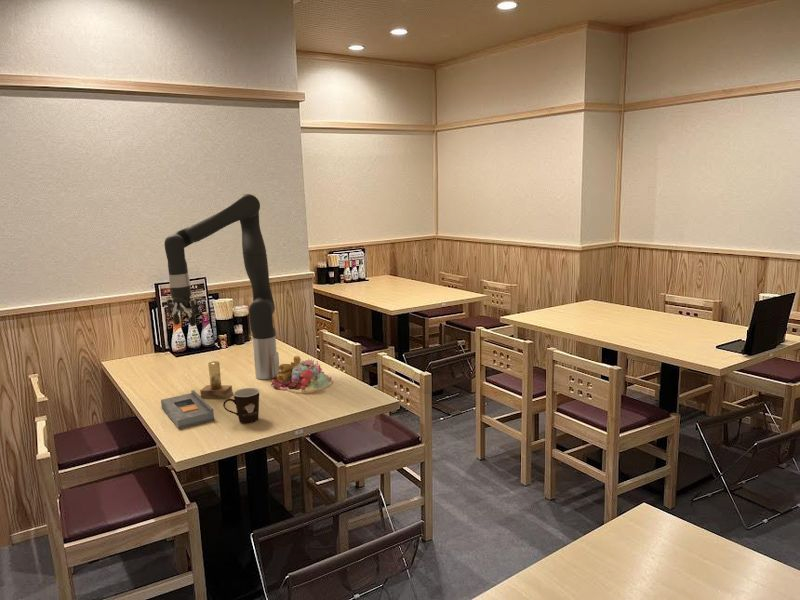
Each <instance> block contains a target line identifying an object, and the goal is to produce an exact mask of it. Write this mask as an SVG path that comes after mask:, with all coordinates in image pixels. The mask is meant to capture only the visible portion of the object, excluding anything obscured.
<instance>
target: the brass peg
mask: <svg viewBox="0 0 800 600" xmlns="http://www.w3.org/2000/svg"><path fill="white" fill-rule="evenodd" d="M208 372H209V373H208V374H209V385H210V386H211V389H212V390H217V389H220V388H222V386H221V385H222V378H221V376H222V375H221V367H220V361H218V360H216V361H210V362H208Z"/></svg>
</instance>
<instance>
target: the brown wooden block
mask: <svg viewBox="0 0 800 600" xmlns="http://www.w3.org/2000/svg"><path fill="white" fill-rule="evenodd" d="M221 386H222V388H220V389H217V390H212V389H211V386H210V384H206V385H205V386H204V387H203V388H202V389H200V396H201V397H202V398H203V399H227V398H228V397H229V396H230V395H232V394H233V387H232V386H233V385H231V384H230V385H226V384H221Z"/></svg>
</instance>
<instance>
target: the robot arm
mask: <svg viewBox="0 0 800 600" xmlns="http://www.w3.org/2000/svg"><path fill="white" fill-rule="evenodd" d="M260 209H261V203H260V200H259V199H258V198H257V197H256V196H255V195H254V194H250V193H245V194H244V193H243V194H242V195H240V196H238V198H237V199H236V201H235V200H234V202H233V203H231V204H230V205H228V206H227V207H225V208H223V209H221V210H220V211H217V212H214V213H212V214H210V215H207V216H205V217H203V218H201V219H199V220H196V221H195V222H193V223H192V224H190V225H188V226H186V227H184V228H182V229H180V230H178V231H175V232H173V233H171V234H169V235H168V236H167V237H166V238H165V240H164V250H165V251H164V252H165V256H166V259H167V268H168V269H167V270H168V281H169V282H168V283H169V291H170V297H171V298H168V299H166V302H167V313H168V315H171V316H172V320H173V324H174V325H175V326H178V325H180V324H181V320H180V315H179V313H180V312H182V311H183V312H185V313H186V314H187V315H188V316H189V319H188V320H189V325H190V327H194V326H196V325H197V318H196V316H198V315H200V310H199V303H198V300H197V299H194V300H193V299H191V297H192V289H191V281H190V275H189V272H188V270H189V269H188V262H187V260H186V254H185V248H187V247H189V246H190V245H192V244H195V243H198V242H201V241H202V240H204V239H206V238H208V237H210V236H212V235H214V234H215V233H217V232H219V231H221V230H223V229H224V228H226V227H227V226H230V225H232V224H234V223H236V222H239V223H240V227H241V248H242V257H243V258H242V259H243V264H244V269H245V273H246V275H247V277H248V279H249V281H250V284H251V288H252V289H251V290H252V301H253V302H252V303H251V304H250V306H249V309H248V317H249V327H250V332H251V334H252V346H253V347H252V348H253V356H254V357H253V358H254V359H253V360H254V369H255V371H254V372H255V378H256V379H259V380H271V379H272V380H273V378H274V377H275V376H277V374H278V372H280V370H279V369H278V367H279V366H280V358H279V352H278V351H277V340H276V330H275V328H274V324H273V323H274V322H273V314H274V312H275V310H276V309H275V308H276V307H275V302H274V298H273V294H272V291H271V286H270V285H271V284H270V276H269V275H270V274H269V272H270V271H269V265H268V263H269V262H268V255H267V249H266V244H265V241H264V238H263V234H262V231H261V226H260V224H261V223H260V211H261V210H260Z"/></svg>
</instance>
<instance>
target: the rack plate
mask: <svg viewBox="0 0 800 600" xmlns="http://www.w3.org/2000/svg"><path fill="white" fill-rule="evenodd" d="M190 392H191V393H185V394H182V395H181V394H180V395H176V396H172V397H167V398H164V399H160V404H161V405H160V406H161V408H162V410H163V411H164V413H166V415H167V416H168V418H169V419H170V420H171V421H172V423H173V424H175V427H176V428H177V429H178V430H180V429H183V428H184V429H185V428H187V427H191V426H195V425H199V424H205V423H209V422H212V421H215V413H214V408H213V407H212V406H211V405H210V404H209V403H208V402H207V401H206V400H205V398H202V397H201V395H200V394H199V393H197V392H196V391H195V390H194V389H193V390H191V391H190Z"/></svg>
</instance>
